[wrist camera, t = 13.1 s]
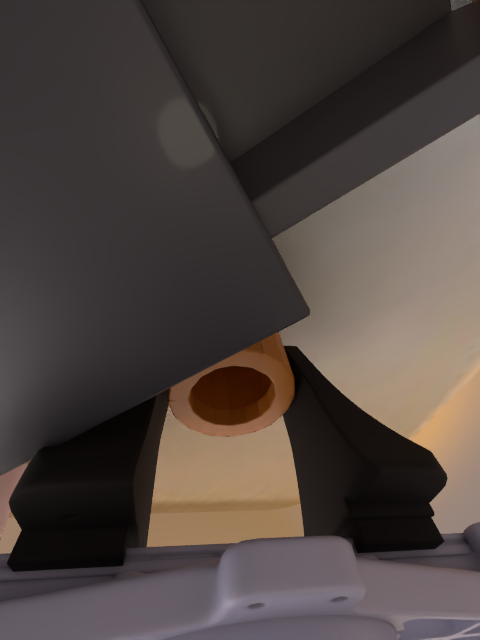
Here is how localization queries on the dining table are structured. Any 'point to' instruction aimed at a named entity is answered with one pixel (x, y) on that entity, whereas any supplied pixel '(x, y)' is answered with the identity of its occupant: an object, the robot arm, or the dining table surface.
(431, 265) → the dining table surface
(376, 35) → the drawer
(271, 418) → the jar
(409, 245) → the dining table surface
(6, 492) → the smoothie
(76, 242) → the cabinet
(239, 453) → the dining table surface
